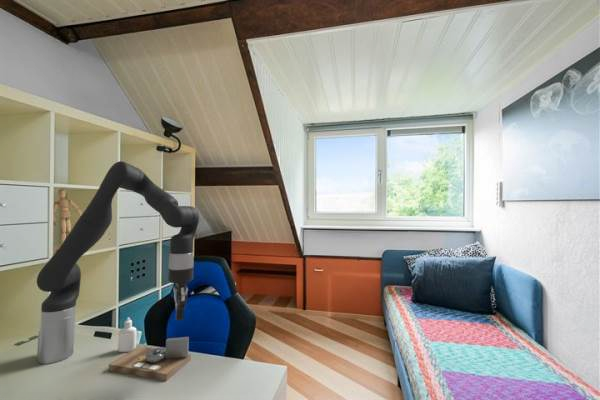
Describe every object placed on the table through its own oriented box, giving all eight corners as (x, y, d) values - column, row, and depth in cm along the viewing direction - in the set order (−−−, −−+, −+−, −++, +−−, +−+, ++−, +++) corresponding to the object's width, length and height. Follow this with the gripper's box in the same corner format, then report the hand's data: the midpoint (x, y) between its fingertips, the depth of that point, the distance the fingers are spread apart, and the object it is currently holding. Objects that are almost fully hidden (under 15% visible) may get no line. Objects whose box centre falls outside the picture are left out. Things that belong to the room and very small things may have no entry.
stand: (108, 370, 88) (109, 363, 88) (138, 351, 99) (138, 345, 99) (166, 380, 83) (166, 372, 83) (190, 359, 94) (190, 353, 95)
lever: (142, 355, 93) (142, 337, 93) (189, 350, 96) (190, 333, 96) (134, 365, 86) (135, 346, 87) (185, 360, 90) (186, 342, 90)
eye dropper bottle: (127, 354, 97) (128, 321, 98) (116, 351, 99) (117, 318, 100) (137, 348, 101) (139, 316, 102) (127, 346, 103) (128, 314, 104)
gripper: (197, 268, 85) (195, 324, 84) (190, 261, 96) (188, 310, 95) (170, 271, 81) (169, 329, 80) (166, 263, 92) (165, 315, 91)
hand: (179, 319), depth 88 cm, fingers closed
